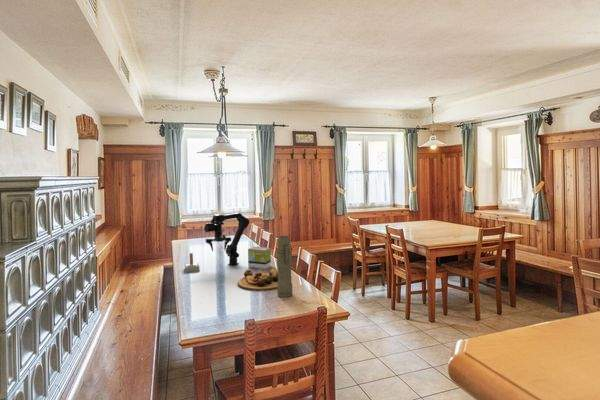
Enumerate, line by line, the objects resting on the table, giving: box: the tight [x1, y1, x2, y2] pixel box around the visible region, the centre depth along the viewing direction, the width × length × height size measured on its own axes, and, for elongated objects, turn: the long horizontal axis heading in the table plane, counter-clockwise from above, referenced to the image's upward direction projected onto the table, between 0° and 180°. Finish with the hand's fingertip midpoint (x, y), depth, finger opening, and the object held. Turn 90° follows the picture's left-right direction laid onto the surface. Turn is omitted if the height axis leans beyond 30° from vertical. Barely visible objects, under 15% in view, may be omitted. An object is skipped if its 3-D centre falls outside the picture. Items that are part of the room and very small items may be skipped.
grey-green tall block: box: [276, 235, 294, 299], centre depth 220 cm, size 9×12×35 cm
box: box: [184, 262, 200, 273], centre depth 284 cm, size 12×10×4 cm
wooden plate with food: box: [237, 268, 278, 292], centre depth 246 cm, size 32×32×8 cm
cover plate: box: [185, 252, 198, 266], centre depth 296 cm, size 10×8×11 cm
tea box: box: [247, 246, 272, 270], centre depth 290 cm, size 15×10×15 cm
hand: (218, 250), depth 290 cm, fingers open, 9 cm apart
